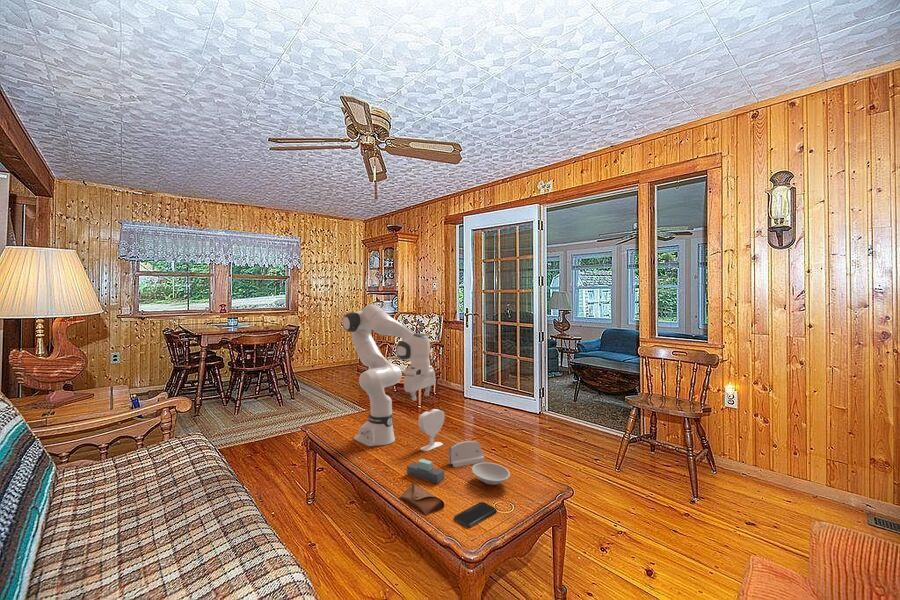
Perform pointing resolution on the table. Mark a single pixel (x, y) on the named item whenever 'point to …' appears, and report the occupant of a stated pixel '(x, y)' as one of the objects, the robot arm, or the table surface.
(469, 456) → the napkin holder
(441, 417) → the heart sculpture
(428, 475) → the grey rectangular block
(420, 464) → the pale teal plug block
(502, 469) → the dish
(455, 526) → the table surface
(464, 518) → the phone
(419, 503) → the sunglasses case
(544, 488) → the table surface
